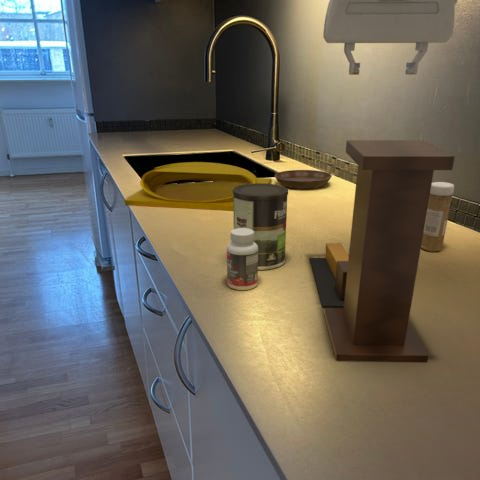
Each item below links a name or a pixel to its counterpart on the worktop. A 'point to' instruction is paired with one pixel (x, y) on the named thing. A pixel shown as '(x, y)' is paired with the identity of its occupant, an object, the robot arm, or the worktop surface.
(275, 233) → the coffee can
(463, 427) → the worktop surface
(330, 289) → the mat
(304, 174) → the plant saucer
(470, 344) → the worktop surface
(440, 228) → the spice jar
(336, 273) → the brown and tan bar
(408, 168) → the pedestal
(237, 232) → the pill bottle
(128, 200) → the mold
